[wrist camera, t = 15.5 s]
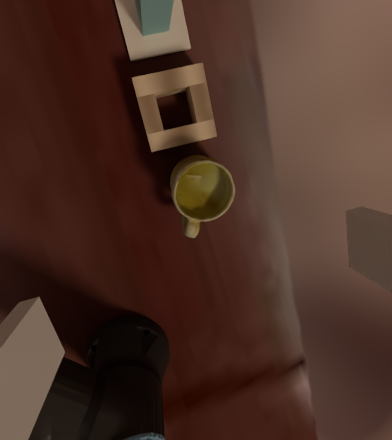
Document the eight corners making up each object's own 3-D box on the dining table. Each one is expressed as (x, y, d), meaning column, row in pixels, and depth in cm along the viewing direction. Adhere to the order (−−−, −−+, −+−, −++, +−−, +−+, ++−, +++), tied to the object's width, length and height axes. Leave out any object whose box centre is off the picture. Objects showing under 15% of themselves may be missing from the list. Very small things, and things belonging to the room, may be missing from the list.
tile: (130, 61, 39) (130, 60, 38) (111, -12, 36) (110, -14, 36) (190, 49, 40) (190, 47, 39) (175, -23, 37) (175, -26, 37)
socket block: (151, 151, 43) (151, 152, 39) (133, 84, 40) (131, 77, 36) (211, 137, 44) (217, 136, 40) (197, 70, 41) (202, 62, 37)
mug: (176, 132, 41) (199, 155, 33) (226, 158, 46) (255, 183, 38) (142, 199, 45) (156, 233, 37) (192, 215, 50) (212, 248, 43)
